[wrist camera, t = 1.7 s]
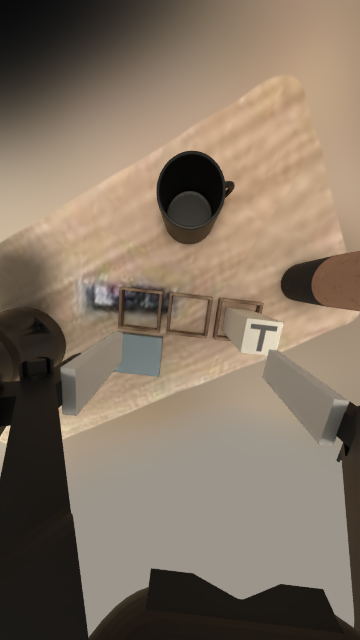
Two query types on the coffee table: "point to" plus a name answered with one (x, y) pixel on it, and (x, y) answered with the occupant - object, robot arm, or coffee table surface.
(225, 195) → the mug
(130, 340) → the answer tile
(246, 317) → the letter block
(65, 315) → the coffee table surface
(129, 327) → the wooden picture frame
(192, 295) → the wooden window frame
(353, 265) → the travel mug
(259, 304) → the wooden frame right
